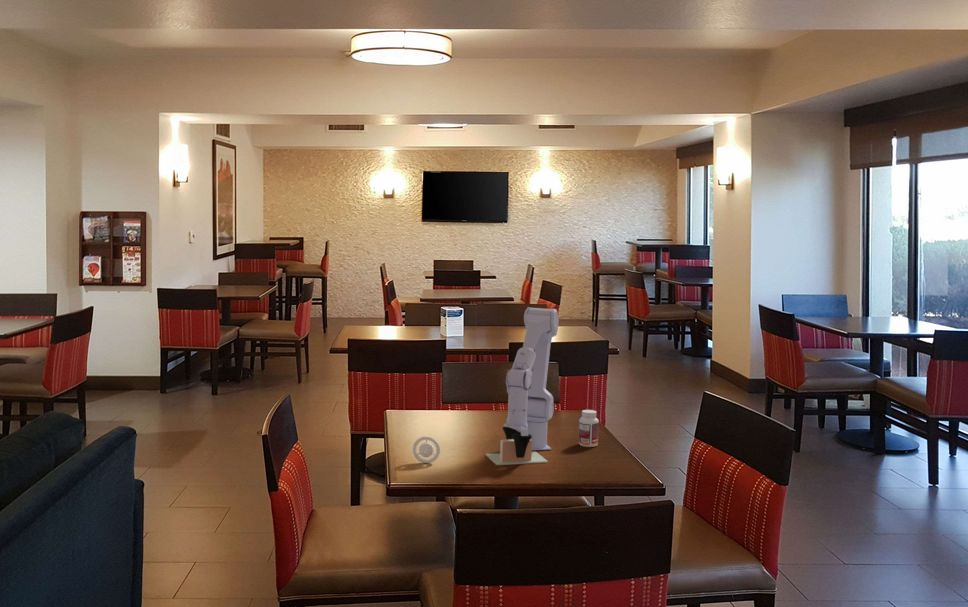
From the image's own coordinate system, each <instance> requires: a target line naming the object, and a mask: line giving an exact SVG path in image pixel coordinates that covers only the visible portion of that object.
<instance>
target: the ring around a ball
mask: <svg viewBox="0 0 968 607" xmlns="http://www.w3.org/2000/svg"><path fill="white" fill-rule="evenodd" d="M422 441H423V442H422ZM424 441H425V442H424ZM428 441H429V442H428ZM421 442H422V443H421ZM430 442H431V443H430ZM420 443H421V444H420ZM419 444H420V445H419ZM433 444H434V446H435V447H434V446H433ZM418 445H419V448H418ZM417 448H418V451H419V452H417ZM434 448H436V451H435V453H434V450H435V449H434ZM412 453H413V456H414V458H415V459H416V460H417V461H418V462H420V463H423V464H430V463H433V462H435V461H436V460H437V459H438V458H439V456H440V453H441V446H440V444H439V442H438V441H437V440H436V439H435V438H433V437H431V436H421V437H419V438H417V440H416V441H415V442H414V443H413V446H412ZM419 455H421V457H420V456H419ZM432 456H433V457H432ZM422 457H423V458H422ZM429 457H431V458H429ZM424 458H428V459H424Z"/></svg>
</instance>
